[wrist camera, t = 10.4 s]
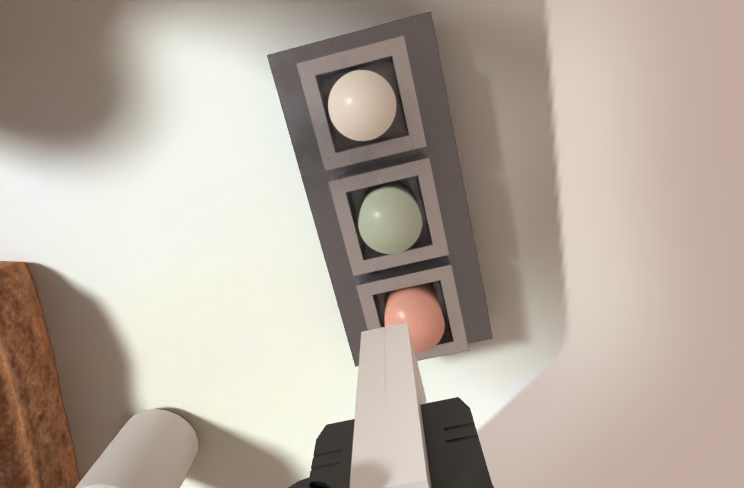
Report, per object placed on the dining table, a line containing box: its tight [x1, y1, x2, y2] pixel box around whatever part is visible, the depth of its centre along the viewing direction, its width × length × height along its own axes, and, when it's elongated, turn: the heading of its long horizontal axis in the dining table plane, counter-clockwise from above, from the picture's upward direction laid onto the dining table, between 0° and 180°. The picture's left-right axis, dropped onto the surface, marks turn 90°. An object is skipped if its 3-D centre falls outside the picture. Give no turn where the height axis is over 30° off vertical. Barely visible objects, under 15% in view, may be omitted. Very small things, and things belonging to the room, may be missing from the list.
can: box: [75, 409, 199, 488], centre depth 42 cm, size 8×8×12 cm
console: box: [267, 12, 492, 367], centre depth 38 cm, size 26×12×6 cm, turn 14°
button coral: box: [384, 283, 445, 353], centre depth 38 cm, size 4×4×4 cm
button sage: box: [358, 181, 422, 254], centre depth 36 cm, size 4×4×4 cm
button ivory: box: [328, 70, 396, 141], centre depth 33 cm, size 4×4×4 cm
